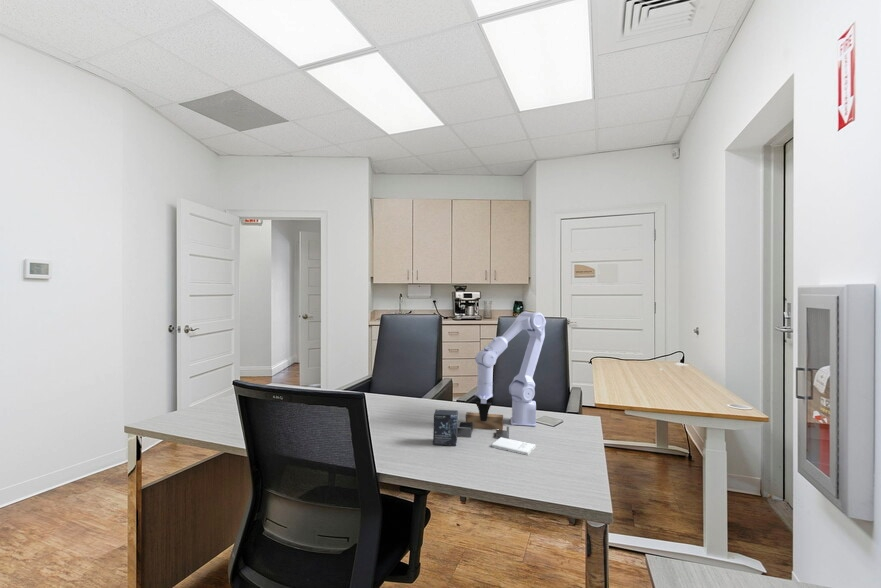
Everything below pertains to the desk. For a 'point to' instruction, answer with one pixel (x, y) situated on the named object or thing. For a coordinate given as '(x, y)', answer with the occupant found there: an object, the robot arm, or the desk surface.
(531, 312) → the robot arm
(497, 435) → the ledge bracket
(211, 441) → the desk surface
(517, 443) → the external hard drive
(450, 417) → the box
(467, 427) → the bracket
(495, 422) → the wooden block
